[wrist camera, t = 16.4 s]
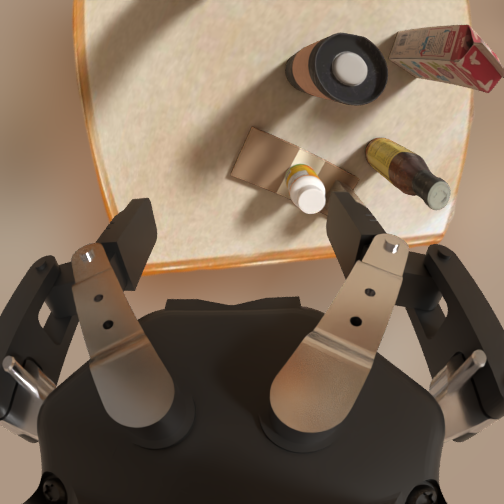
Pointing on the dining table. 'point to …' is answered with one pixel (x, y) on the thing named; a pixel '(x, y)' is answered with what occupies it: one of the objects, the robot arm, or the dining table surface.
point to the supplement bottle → (305, 188)
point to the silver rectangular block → (341, 187)
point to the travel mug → (339, 69)
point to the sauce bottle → (407, 172)
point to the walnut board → (282, 164)
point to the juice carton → (448, 56)
